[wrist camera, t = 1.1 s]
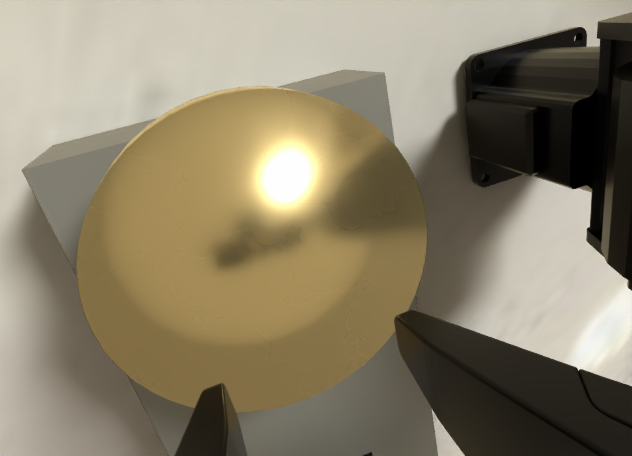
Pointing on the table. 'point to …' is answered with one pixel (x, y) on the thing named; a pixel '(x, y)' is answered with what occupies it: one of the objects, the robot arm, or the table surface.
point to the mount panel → (304, 416)
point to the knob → (251, 248)
